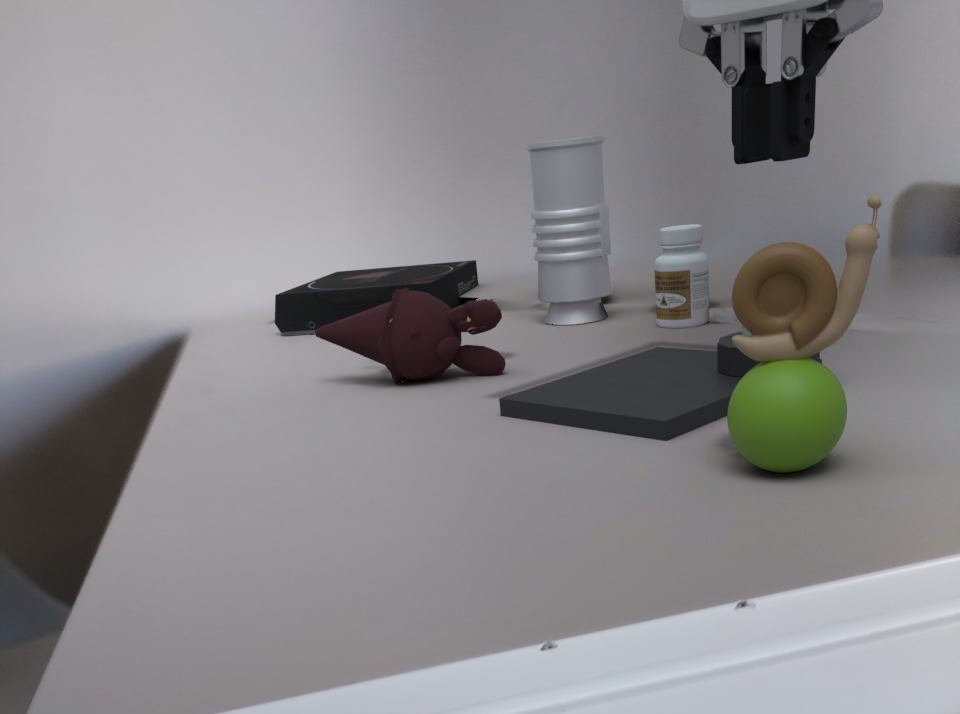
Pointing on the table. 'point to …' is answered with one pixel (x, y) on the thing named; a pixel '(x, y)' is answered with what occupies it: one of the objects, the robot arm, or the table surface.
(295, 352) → the table surface
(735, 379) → the scale
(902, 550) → the table surface
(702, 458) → the table surface
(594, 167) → the silver ribbed cylinder
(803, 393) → the snail figurine
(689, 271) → the pill bottle
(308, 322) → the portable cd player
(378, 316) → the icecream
